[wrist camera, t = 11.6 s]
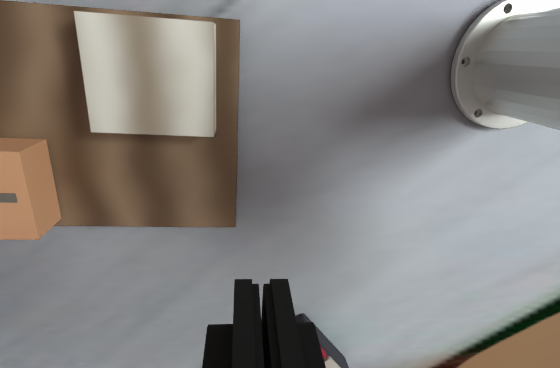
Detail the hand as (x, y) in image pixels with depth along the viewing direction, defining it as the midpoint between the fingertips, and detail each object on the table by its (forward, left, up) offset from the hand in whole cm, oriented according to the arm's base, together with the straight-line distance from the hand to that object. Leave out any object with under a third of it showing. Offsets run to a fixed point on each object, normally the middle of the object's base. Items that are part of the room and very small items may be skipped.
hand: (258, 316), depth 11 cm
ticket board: (+14, 0, -25) cm, 29 cm away
